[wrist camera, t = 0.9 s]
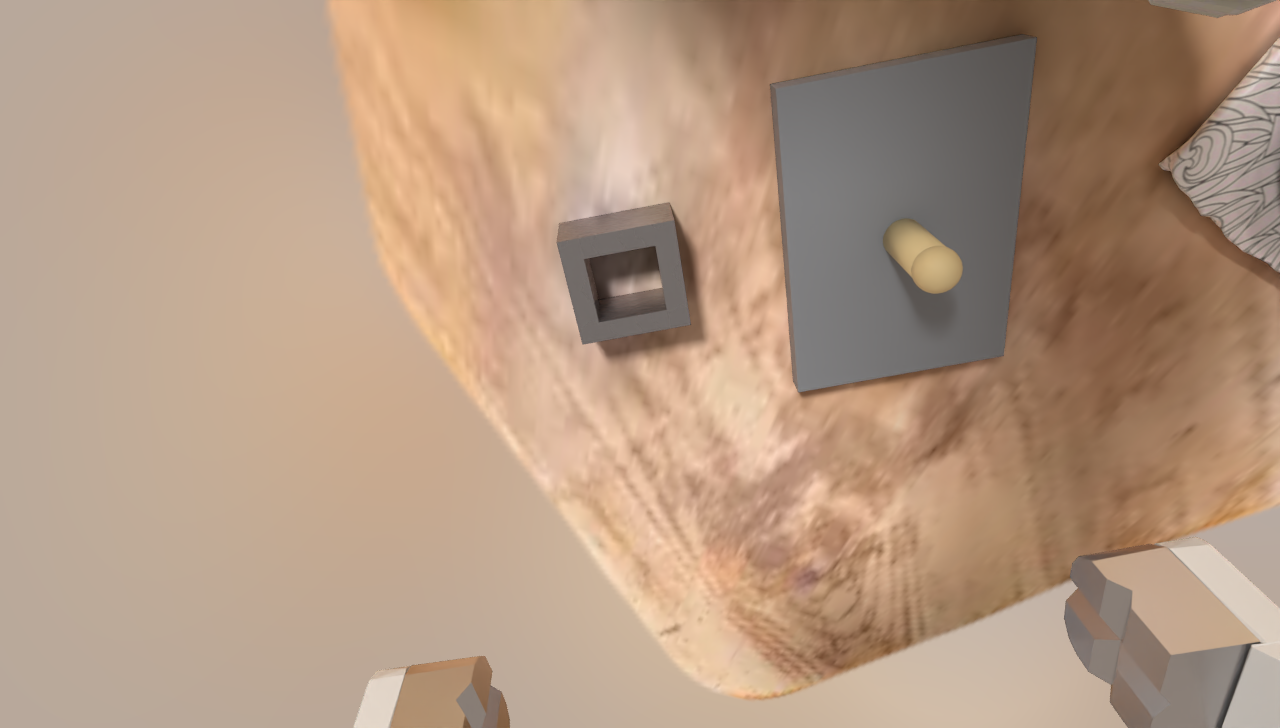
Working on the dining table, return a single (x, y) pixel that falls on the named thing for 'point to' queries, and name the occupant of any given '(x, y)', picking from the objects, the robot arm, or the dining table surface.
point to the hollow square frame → (631, 309)
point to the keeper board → (901, 209)
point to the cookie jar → (1239, 163)
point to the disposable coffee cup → (1211, 6)
